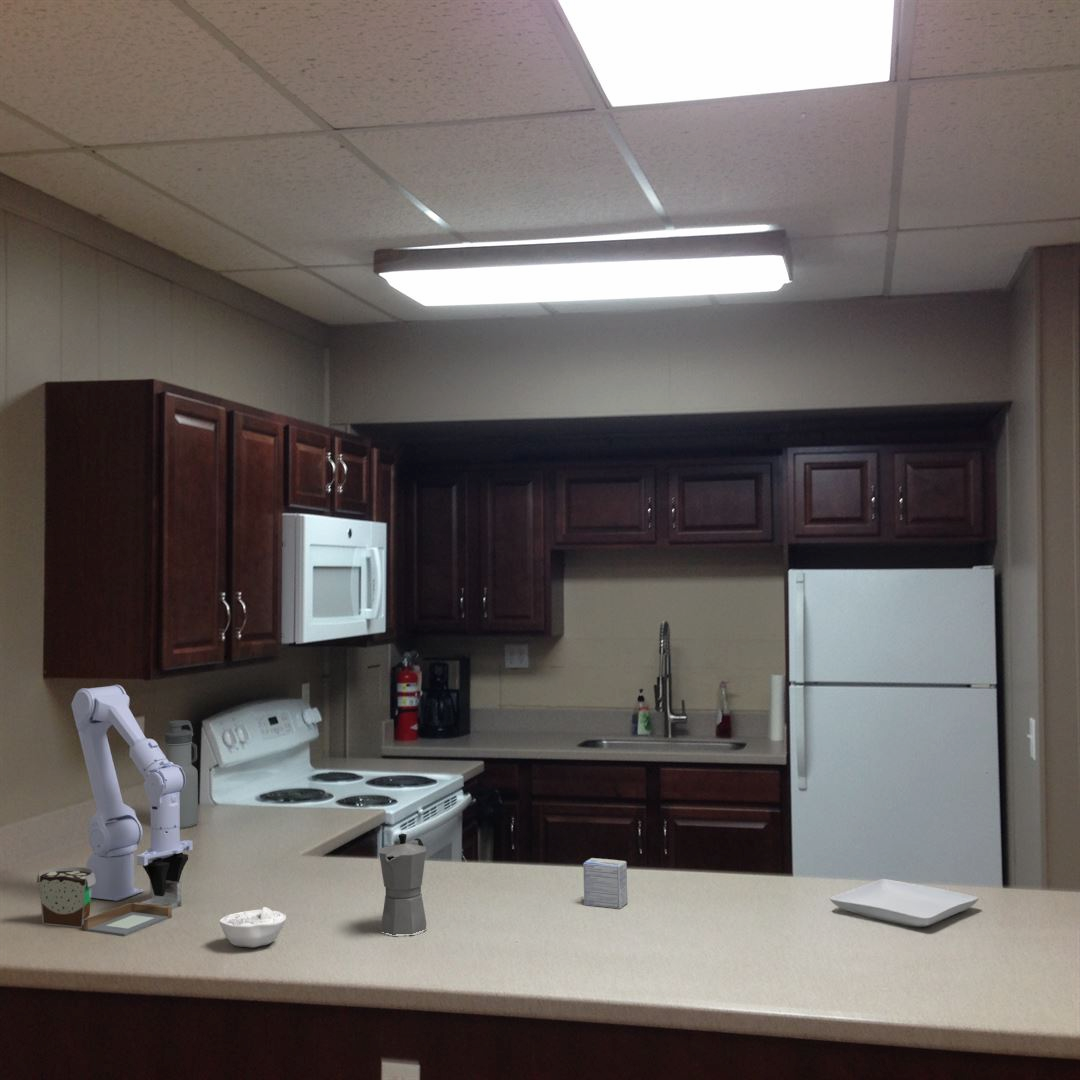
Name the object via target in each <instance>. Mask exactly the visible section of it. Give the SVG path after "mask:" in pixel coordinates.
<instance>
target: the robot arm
mask: <svg viewBox="0 0 1080 1080" xmlns="http://www.w3.org/2000/svg"><path fill="white" fill-rule="evenodd" d="M70 705H71V709H72V713H73V717H74V722H75V726H76V729H77V731H78V733H77V734H78V736H79V740H80V745H81V749H82V753H83V757H84V762H85V766H86V770H87V775H88V778H89V783H90V787H91V792H92V795H93V800H94V803H95V804H94V805H95V807H96V811H95V812H94V814H93V815H92V816H91V818H90V819H89V820H88V822H87V825H88V843H89V846H90V849H91V850H92V851H93V852H92V854H90V855H89V857H88V859H87V861H86V864H85V865H86V866H85V868H89V869H92V870H93V873H94V875H95V879H96V883H95V884H94V885H92V892H91V899H100V900H107V901H114V902H115V901H116V902H118V901H122V900H124V899H126V898H130V897H132V896H135V895H137V894H141V893H143V892H144V889H143V888H136V887H135V851H137V850H138V845H140V843H142V840H143V835H144V832H143V830H144V829H143V827H142V824H141V822H140V820H139V819H138V818H137V815H136V811H135V809H133V808H131V806H129V805H127V804H125V803H124V801H123V798H122V793H121V789H120V788H121V787H120V785H119V781H118V776H117V772H116V768H115V765H114V760H113V756H112V753H111V747H110V744H109V741H108V739H109V738H108V735H107V731H108V729H109V728H110V727H111V726H113V727H114V729H116V731H117V733H119V735H120V736H121V737H122V738H123V739H124V741H125V742H126V743H127V745H129V746H128V747H130V751H129V758H131V760H132V762H133V763H134V765H135V766H136V768H137V769H138V771H139V772H140V773H141V775H142V776H143V778H144V782H143V787H144V788H143V789H144V791H145V794H146V797H147V803H148V805H149V806H150V848H148V849H147V850H144V851H143V852H141V853H140V854H137V855H136V865H137V866H142V868H143V869H144V871H145V872H146V874H147V876H148V879H149V882H150V881H151V885H152V888H153V892H154V895H155V896H164V894H165V887H166V880H168V881H177V882H180V879H181V876H182V873H183V870H184V867H185V866H186V863H187V862H188V861H189V855H188V854H187V853H184V852H187V851H188V852H190V851H193V850H194V849H193V848H194V846H193V845H194V843H193V840H189V839H188V840H187V839H184V840H181V834H180V833H181V832H180V831H181V829H180V792H181V791H182V790H183V789H184V787H185V784H186V777H185V774H184V771H183V770H182V768H181V767H180V766H179V765H175V764H173V762H169V761H168V759H167V758H166V754H164V752H163V751H162V749H161V748H160V746H159V744H158V743H157V741H156V740H155V739H153V738H147V737H146V736H145V734H144V732H143V731H142V728H141V727H140V725H139V723H138V722H137V720H136V718H135V716H134V715H133V712H132V711H131V709H130V696H129V695H128V694H127V692H126V690H125V689H124V687H123V686H121V685H119V684H114V685H109V686H108V685H107V686H101V687H100V686H99V687H90V688H85V687H83V688H80V689H79V690H76V692H75V694H74V697H73V699H72V702H71V703H70Z"/></svg>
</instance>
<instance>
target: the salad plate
mask: <svg viewBox="0 0 1080 1080" xmlns="http://www.w3.org/2000/svg"><path fill="white" fill-rule="evenodd" d="M829 899H830V902H832V904H834V905H835V906H836V907H838V908H840V909H842V910H843V911H847V912H850V913H853V914H855V915H859V916H862V917H866V918H871V919H875V920H880V921H884V922H889V923H893V924H899V925H903V926H907V927H914V928H924V927H929V926H932V925H933V924H936V923H938V922H941V921H943V920H945V919H948V918H949V917H952V916H954V915H955V914H959V913H962V912H964V911H966V910H968V909H970V908H971V907H973V906H974V905H975V904H976V903H977V902H978V901H979V897H978V896H975V895H970V894H967V893H962V892H957V891H954V890H947V889H944V888H939V887H933V886H928V885H923V884H918V883H911V882H904V881H900V880H894V879H888V878H887V879H886V878H881V879H877V880H875V881H873V882H869V883H867V884H866V883H865V884H863V885H861V886H858V887H855V888H852V889H849V890H846V891H844V892H842V893H839V894H835V895H833V896H830V898H829Z"/></svg>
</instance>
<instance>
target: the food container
mask: <svg viewBox="0 0 1080 1080" xmlns="http://www.w3.org/2000/svg"><path fill="white" fill-rule="evenodd" d="M36 883H37V884H38V885H39V896H40V906H41V907H40V909H41V919H42V925H47V926H56V927H57V926H58V927H64V928H74V929H75V928H76V929H84V919H87V918H90V913H91V904H92V903H91V901H92V898H91V892H92V885H94V884H95V883H96V879H95V875H94V873H93V870H92V869H89V868H86V867H83V866H66V867H65V866H64V867H56V868H50V869H49V868H48V869H46V870H41V871H38V875H37V876H36Z"/></svg>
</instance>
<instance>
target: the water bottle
mask: <svg viewBox="0 0 1080 1080" xmlns="http://www.w3.org/2000/svg"><path fill="white" fill-rule="evenodd" d="M168 727H169V730H168V731H166V732H165V733H164V742H165V743H164V745H165V756H166V758H167V759H168V761H169V762H173V764H175V765H179V766H180V767H181V768H182V770H183V771H184V774H185V777H186V784H185V787H184V789H183V790H182V791H181V792H180V830H182V829H183V830H184V829H189V828H192V827H195V826H196V825H197V824H198V822H199V781H198V780H199V779H198V778H199V775H198V774H199V773H198V769H197V768H196V767H195V766H194V765H192V763H195V762H197V759H198V746H197V744H196V743H193V741H192V740H193V736H194V731H193V729H194V728H193V726H192V723H191V721H190V720H186V719H185V720H183V719H182V720H180V719H178V720H177V719H175V720H170V721H169V722H168ZM192 748H193V759H192Z"/></svg>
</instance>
